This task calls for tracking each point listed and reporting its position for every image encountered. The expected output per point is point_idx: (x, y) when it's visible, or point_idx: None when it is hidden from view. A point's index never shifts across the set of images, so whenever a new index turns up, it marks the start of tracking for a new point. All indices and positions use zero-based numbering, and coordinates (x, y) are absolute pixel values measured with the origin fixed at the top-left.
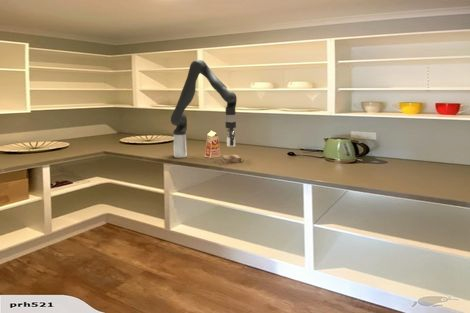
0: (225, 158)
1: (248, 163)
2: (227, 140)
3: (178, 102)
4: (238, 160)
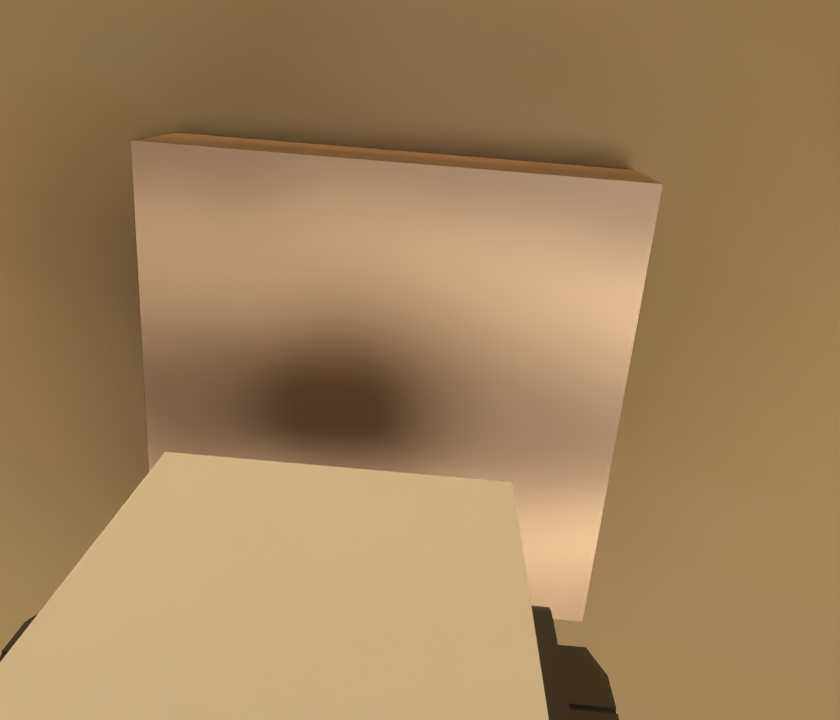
0: (153, 177)
1: (14, 600)
2: (278, 667)
3: None
4: None
